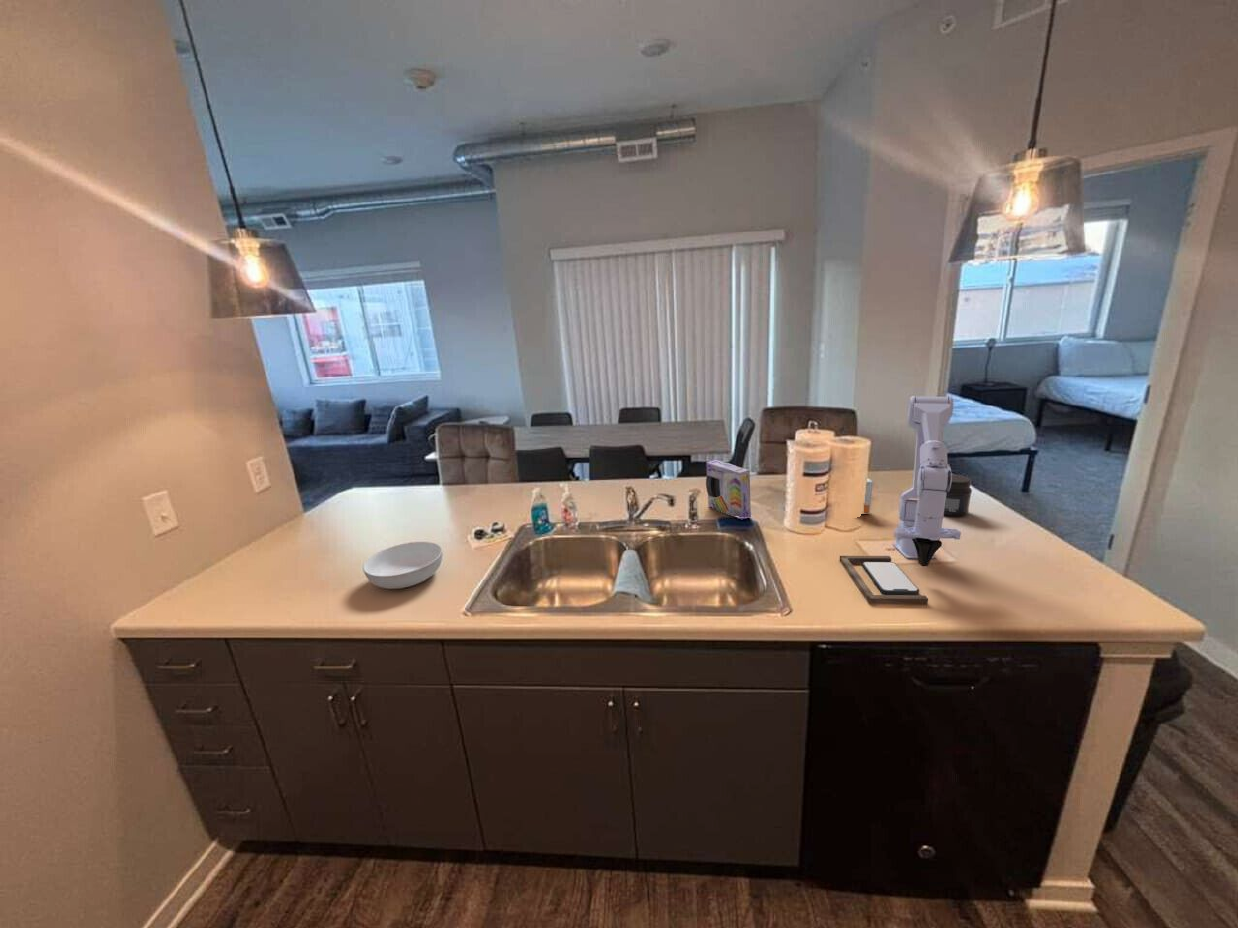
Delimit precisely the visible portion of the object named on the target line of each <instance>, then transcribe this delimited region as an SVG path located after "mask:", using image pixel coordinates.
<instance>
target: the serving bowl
mask: <svg viewBox="0 0 1238 928" xmlns="http://www.w3.org/2000/svg"><path fill="white" fill-rule="evenodd" d="M442 561H443V548H442V546H441V545H440V544H438V543H435V542H431V541H411V542H406V543H401V544H397V545H393V546H390V547H387V548H385V549H382V550H380V551H379V552H376V553H375V554H373V555H371V556H370V557H369V558H368V559H367V560H365V562H364V564H363V566H362V571H363V574H364V576H365V578H367V580H368V581H369V582H370V583H371V584H373V585H375V586H377V587H379V588H382V589H390V590H391V589H393V590H397V589H404V588H407V587H412V586H415V585H418V584H420V583H422V582H424V581H426V580H427V579H429V578H430V577H432V576H433V575H434V574H435V573H436V572H437V571H438V570H439V568H440V566H441V564H442Z"/></svg>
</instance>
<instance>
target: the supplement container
mask: <svg viewBox="0 0 1238 928" xmlns="http://www.w3.org/2000/svg"><path fill="white" fill-rule="evenodd" d="M971 486H972V479H971V478H970V477H968V476H964V475H960V474H953V473H952V482H951V487H950V490H949V492H947V489H946V492H947V494H946V501H945V508H944V515H943V517H950V518H962V517H964V516H967V514H969V511H970V510H969V509H970V503H971V495H972V493H973V490H972V487H971Z"/></svg>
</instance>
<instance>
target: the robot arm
mask: <svg viewBox="0 0 1238 928" xmlns="http://www.w3.org/2000/svg"><path fill="white" fill-rule="evenodd" d="M907 409H908V410H907V425H908V428H909V427H910V428H911V429H913V430H914V432H915V437H916V439H915V448H914V450H915V451H914V467H913V478H912V479H913V480H912V487H911V488H909V489H907V490H905V491H904V492H902V494H901V495H900V498H899V499H900V501H899V505H898V506H899V507H898V519H899V521H898V523H897V529H894V532H893V537H894V539H895V541H893V542H892V546H894V547H895V548H896V549H897V550H898V552H900V554H901V555H902V556H904V557H905V558H906V559H917V561H918V564H919V565H920V566H921V567H928V566H929V564H930V562H931V560H932V559H937V555H936V552H937V551H938V550H939V549H940V548H941V547H942V545H943V542H942V541H941V540H940V539H954V540H961V534H962V533H961V531H959V530H958V529H957V528H946V527H945V528H944V527H943V522H944V521H943V520H944V508H945V501H946V494H947V492H949V490H950V487H951V482H952V474H953V473H952V468H951V465H950V464H948V447H947V445H946V444H945V443H943V442H942V433H943V429H945V428H947V426H948V425H949V423H950V420H951V418H952V417H953V412H954V398H953V397H952V395H949V396H948V395H947V396H922V395H921V396H915V395H912V396H910V398H909V401H908V408H907ZM946 489H947V492H946Z"/></svg>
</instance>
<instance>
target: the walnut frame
mask: <svg viewBox="0 0 1238 928" xmlns="http://www.w3.org/2000/svg"><path fill="white" fill-rule="evenodd" d="M838 560H839V562H840V564H841V565H842V567H843V568H844V570H845V572H847V574H848V576H849V577H850V578H851V580H852V581H853V582H854V584H855V585H856V588H857V589H858V590H859V591H860V593H861V594H862V596H863V598H864V599H865V600H866V602H867V603H868V604H869V605H924V606H925V605H928V604H929V598H928V597H927V595H925V594H924V595H883V594H874V593H873V592H872V590H871V588H869V587H868V585H867V583H866V582H865V581H864V579H863V578H862V577H861V575H860V574H859V572H858V571H857V569H855V567H854V566H853V564H862V563H863V562H892V556H890V555H839V559H838Z"/></svg>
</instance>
